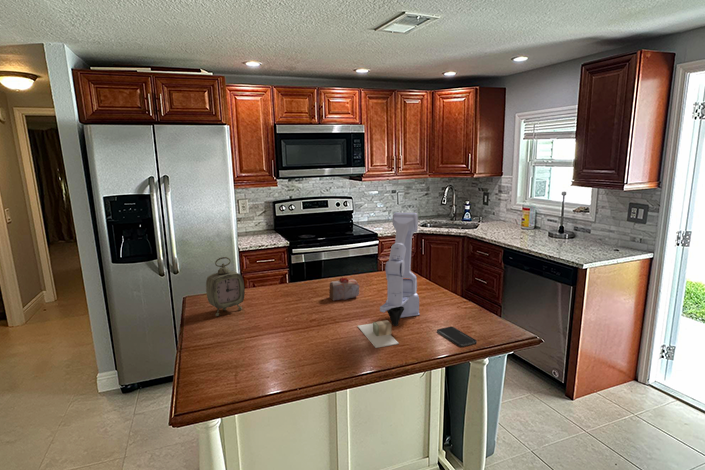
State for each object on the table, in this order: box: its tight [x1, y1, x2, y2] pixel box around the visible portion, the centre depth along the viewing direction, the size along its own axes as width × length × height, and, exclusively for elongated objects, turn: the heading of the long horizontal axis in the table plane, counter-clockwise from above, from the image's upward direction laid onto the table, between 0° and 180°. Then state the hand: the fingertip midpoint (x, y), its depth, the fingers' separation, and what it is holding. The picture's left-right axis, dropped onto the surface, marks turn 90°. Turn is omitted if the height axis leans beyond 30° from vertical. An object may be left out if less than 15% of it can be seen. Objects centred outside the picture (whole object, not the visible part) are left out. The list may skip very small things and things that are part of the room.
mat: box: [357, 322, 400, 349], centre depth 156 cm, size 9×20×1 cm, turn 18°
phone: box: [436, 326, 478, 348], centre depth 153 cm, size 8×1×15 cm
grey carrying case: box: [328, 277, 360, 301], centre depth 198 cm, size 14×8×10 cm, turn 111°
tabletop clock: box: [205, 256, 246, 317], centre depth 180 cm, size 14×9×25 cm, turn 131°
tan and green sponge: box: [372, 319, 392, 336], centre depth 156 cm, size 4×4×6 cm
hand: (394, 325), depth 158 cm, fingers closed
